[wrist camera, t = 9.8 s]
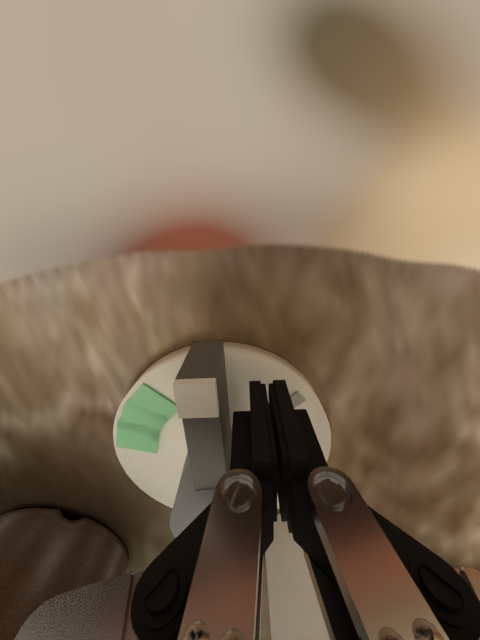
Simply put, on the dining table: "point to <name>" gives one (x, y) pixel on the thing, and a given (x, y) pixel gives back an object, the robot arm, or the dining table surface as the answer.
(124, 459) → the dial plate
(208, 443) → the friction peg
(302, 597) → the cylindrical container
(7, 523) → the plant pot
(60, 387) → the dining table surface
